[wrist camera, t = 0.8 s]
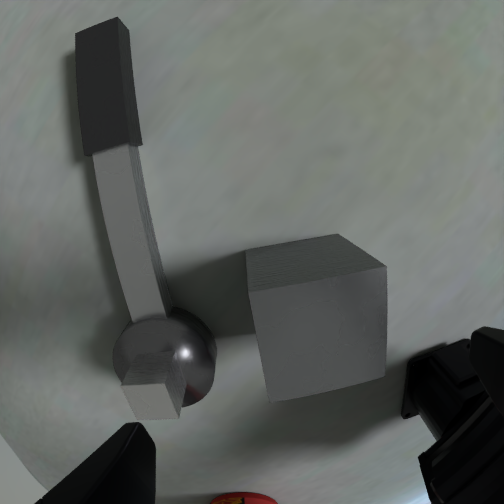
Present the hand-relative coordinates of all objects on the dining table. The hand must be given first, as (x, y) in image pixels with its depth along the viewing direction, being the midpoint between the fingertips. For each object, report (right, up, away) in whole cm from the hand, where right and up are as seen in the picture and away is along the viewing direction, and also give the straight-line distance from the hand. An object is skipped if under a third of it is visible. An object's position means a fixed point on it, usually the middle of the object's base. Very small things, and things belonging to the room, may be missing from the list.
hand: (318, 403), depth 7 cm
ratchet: (-9, +6, +11) cm, 15 cm away
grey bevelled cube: (+1, +2, +12) cm, 13 cm away
